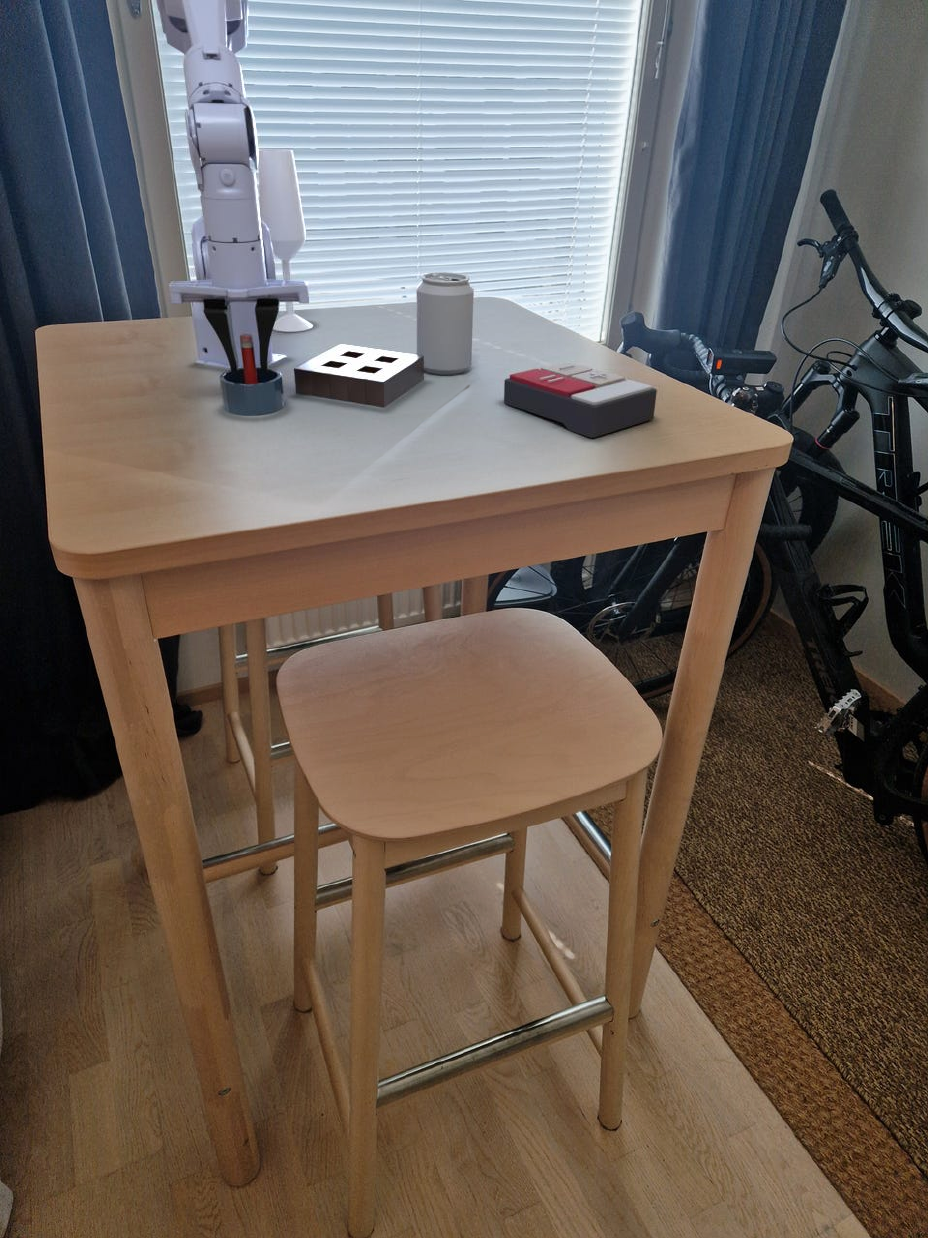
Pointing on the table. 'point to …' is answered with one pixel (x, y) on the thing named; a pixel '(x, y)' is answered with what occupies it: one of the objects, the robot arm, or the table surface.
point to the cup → (252, 392)
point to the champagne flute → (282, 219)
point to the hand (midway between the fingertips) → (249, 368)
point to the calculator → (581, 398)
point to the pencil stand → (359, 375)
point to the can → (445, 322)
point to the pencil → (248, 359)
